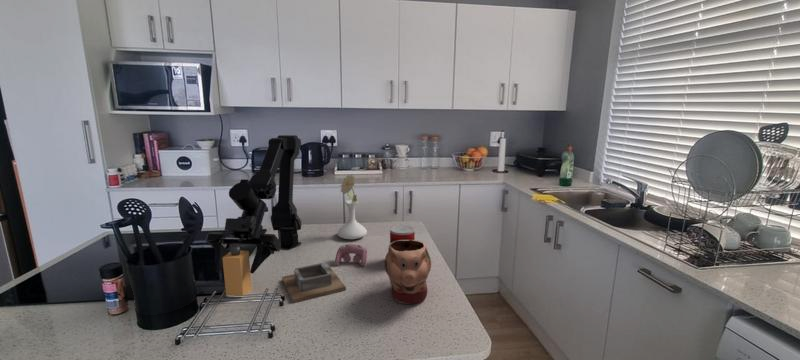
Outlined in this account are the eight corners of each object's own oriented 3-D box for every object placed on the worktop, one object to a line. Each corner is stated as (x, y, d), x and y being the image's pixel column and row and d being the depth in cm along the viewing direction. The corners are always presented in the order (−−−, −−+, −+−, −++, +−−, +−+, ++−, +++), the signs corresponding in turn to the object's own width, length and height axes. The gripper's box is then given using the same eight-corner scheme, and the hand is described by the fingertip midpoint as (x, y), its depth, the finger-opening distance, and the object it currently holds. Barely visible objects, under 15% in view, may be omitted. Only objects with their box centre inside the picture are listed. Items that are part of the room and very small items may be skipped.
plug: (235, 288, 98) (231, 243, 96) (251, 289, 98) (248, 244, 95) (226, 297, 94) (221, 250, 91) (243, 298, 93) (239, 250, 91)
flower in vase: (336, 232, 142) (334, 170, 137) (364, 230, 145) (363, 169, 140) (338, 244, 130) (336, 176, 125) (370, 242, 132) (369, 175, 128)
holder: (282, 280, 103) (281, 267, 102) (329, 270, 110) (329, 257, 109) (293, 303, 91) (292, 288, 90) (345, 290, 98) (345, 276, 97)
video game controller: (367, 267, 115) (368, 245, 117) (364, 266, 111) (366, 243, 113) (337, 266, 116) (338, 244, 118) (333, 265, 112) (335, 242, 114)
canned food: (417, 258, 118) (417, 226, 116) (409, 268, 111) (410, 234, 109) (395, 255, 121) (395, 223, 119) (386, 264, 114) (386, 231, 111)
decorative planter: (381, 277, 105) (380, 231, 103) (422, 274, 107) (422, 229, 104) (389, 315, 86) (389, 260, 83) (439, 311, 88) (440, 257, 85)
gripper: (205, 203, 96) (182, 259, 87) (273, 205, 94) (257, 262, 86) (225, 222, 105) (205, 274, 96) (287, 224, 104) (273, 277, 95)
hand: (234, 272), depth 93 cm, fingers open, 9 cm apart
